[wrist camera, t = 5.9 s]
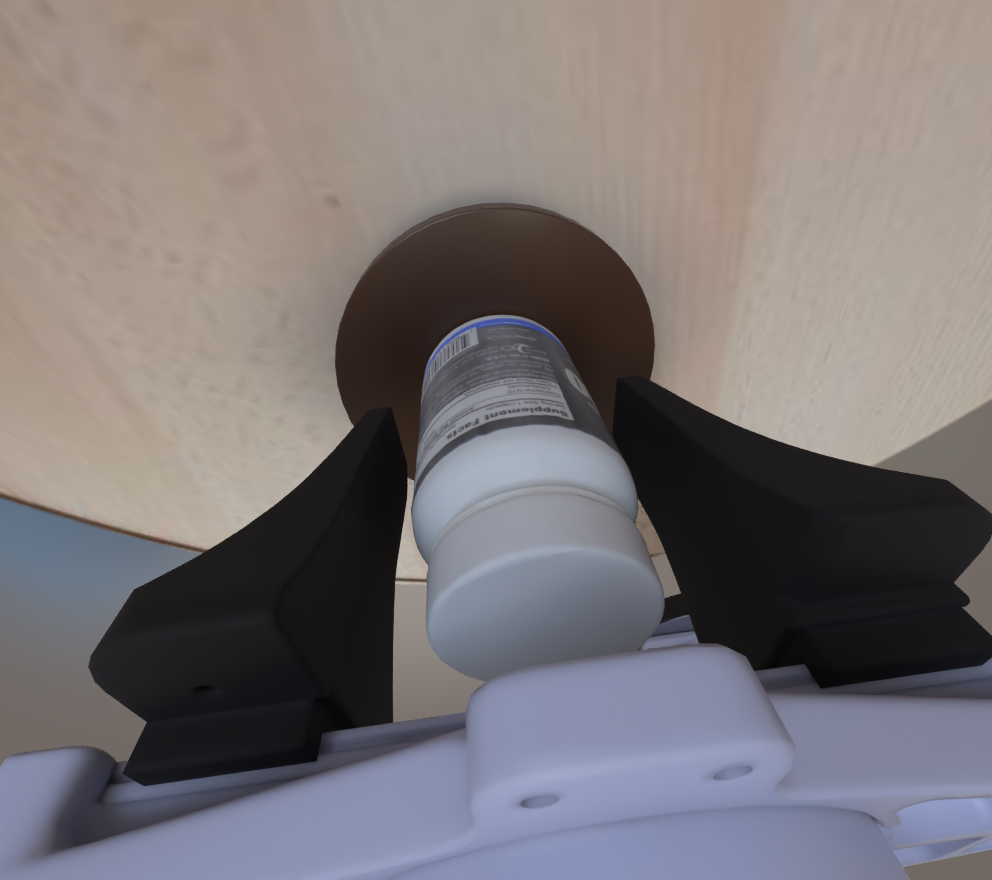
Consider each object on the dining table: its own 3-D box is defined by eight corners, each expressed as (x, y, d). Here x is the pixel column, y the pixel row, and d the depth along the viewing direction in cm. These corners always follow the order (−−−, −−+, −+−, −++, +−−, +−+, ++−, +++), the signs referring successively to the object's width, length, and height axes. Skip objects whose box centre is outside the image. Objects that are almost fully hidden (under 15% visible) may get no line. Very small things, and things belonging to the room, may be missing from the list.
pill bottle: (575, 428, 15) (677, 674, 9) (442, 453, 15) (441, 716, 9) (566, 294, 12) (710, 506, 6) (403, 326, 13) (357, 571, 6)
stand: (617, 440, 19) (637, 479, 17) (388, 471, 19) (381, 513, 17) (643, 174, 13) (679, 185, 11) (306, 213, 13) (281, 232, 11)
